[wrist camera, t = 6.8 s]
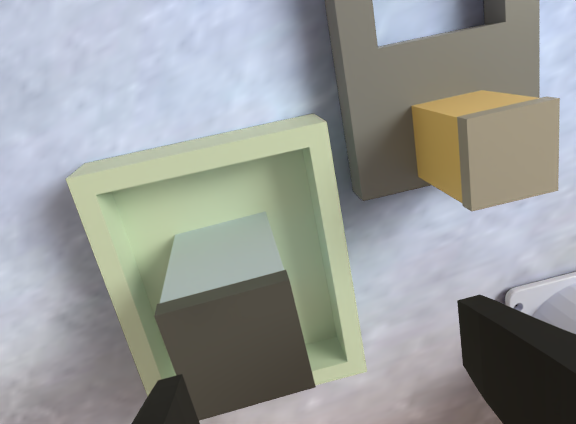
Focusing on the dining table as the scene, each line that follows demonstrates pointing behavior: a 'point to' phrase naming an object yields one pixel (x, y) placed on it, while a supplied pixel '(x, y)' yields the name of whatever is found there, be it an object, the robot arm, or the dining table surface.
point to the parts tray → (217, 209)
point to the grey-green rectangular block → (232, 317)
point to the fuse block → (446, 107)
